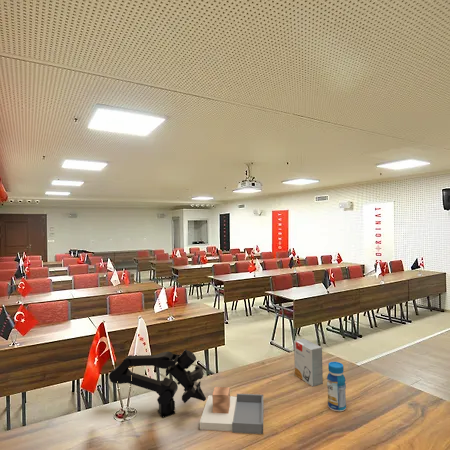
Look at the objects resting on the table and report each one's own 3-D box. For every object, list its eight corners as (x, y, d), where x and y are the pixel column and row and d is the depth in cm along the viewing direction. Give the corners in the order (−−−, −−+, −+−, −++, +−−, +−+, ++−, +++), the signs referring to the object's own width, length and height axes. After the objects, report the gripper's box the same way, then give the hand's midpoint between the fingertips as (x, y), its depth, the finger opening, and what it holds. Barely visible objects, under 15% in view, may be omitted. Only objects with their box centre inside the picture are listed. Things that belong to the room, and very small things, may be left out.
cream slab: (199, 429, 137) (199, 422, 137) (208, 401, 159) (208, 395, 159) (232, 431, 135) (232, 424, 135) (237, 402, 157) (236, 396, 157)
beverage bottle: (348, 413, 146) (346, 368, 147) (328, 411, 148) (327, 367, 148) (344, 402, 155) (343, 361, 155) (326, 401, 156) (325, 360, 156)
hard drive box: (294, 375, 185) (293, 340, 185) (304, 372, 188) (304, 338, 188) (312, 387, 171) (311, 349, 171) (323, 383, 174) (322, 346, 174)
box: (232, 432, 135) (232, 422, 135) (237, 401, 158) (237, 393, 158) (263, 434, 133) (263, 424, 133) (263, 402, 156) (263, 394, 156)
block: (212, 412, 144) (212, 394, 144) (215, 404, 151) (214, 386, 151) (228, 413, 143) (228, 395, 143) (230, 404, 150) (229, 387, 150)
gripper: (188, 372, 140) (214, 398, 138) (197, 355, 158) (220, 378, 157) (170, 389, 140) (196, 416, 139) (181, 370, 159) (204, 394, 158)
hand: (205, 400), depth 148 cm, fingers closed
